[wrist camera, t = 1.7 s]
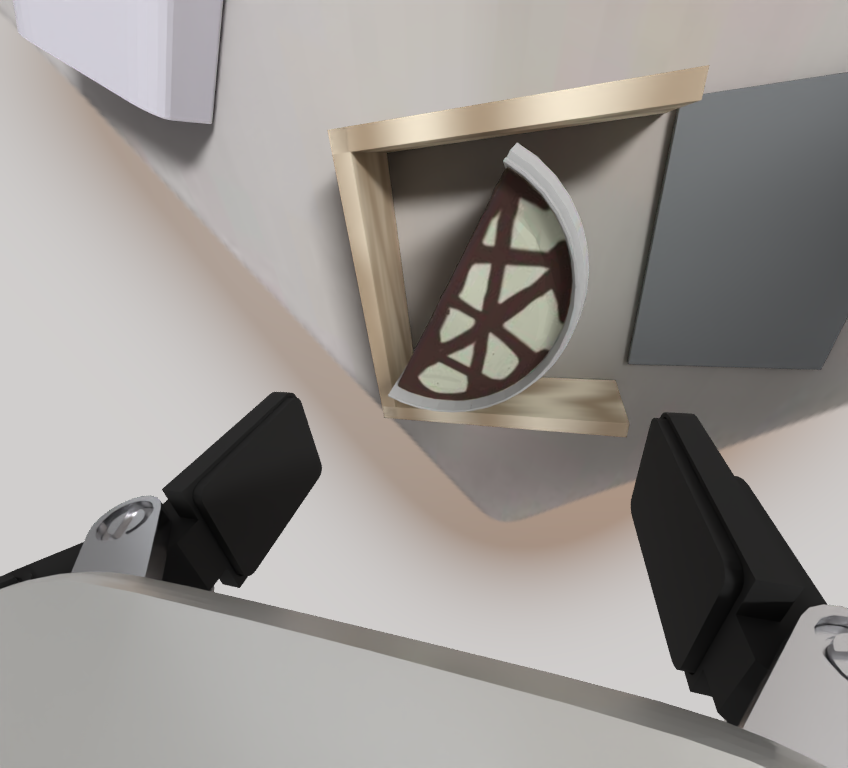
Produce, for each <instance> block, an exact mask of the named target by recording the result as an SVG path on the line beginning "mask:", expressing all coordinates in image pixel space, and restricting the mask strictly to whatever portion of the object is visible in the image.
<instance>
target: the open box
mask: <svg viewBox="0 0 848 768" xmlns="http://www.w3.org/2000/svg"><path fill="white" fill-rule="evenodd" d="M708 69H709V65H708V66H702V67H696V68H690V69H684V70H678V71H672V72H666V73H661V74H655V75H649V76H643V77H637V78H631V79H625V80H619V81H613V82H608V83H602V84H596V85H590V86H584V87H578V88H572V89H566V90H560V91H555V92H549V93H543V94H537V95H531V96H525V97H519V98H513V99H507V100H502V101H496V102H490V103H484V104H478V105H472V106H466V107H460V108H454V109H449V110H443V111H437V112H431V113H425V114H419V115H413V116H407V117H401V118H396V119H390V120H384V121H378V122H372V123H366V124H360V125H354V126H348V127H343V128H337V129H331V130H328V135H329V140H330V145H331V150H332V156H333V161H334V166H335V171H336V176H337V181H338V186H339V191H340V196H341V201H342V206H343V211H344V216H345V221H346V226H347V231H348V236H349V241H350V246H351V252H352V257H353V262H354V267H355V272H356V277H357V282H358V287H359V292H360V297H361V302H362V307H363V312H364V317H365V322H366V327H367V332H368V337H369V343H370V348H371V353H372V358H373V363H374V368H375V373H376V378H377V383H378V388H379V393H380V398H381V403H382V408H383V413H384V418H393V419H405V420H417V421H430V422H442V423H455V424H467V425H480V426H492V427H504V428H517V429H529V430H542V431H554V432H567V433H579V434H591V435H604V436H616V437H627V433H628V428H629V421H628V418H627V414H626V411H625V408H624V405H623V402H622V399H621V396H620V393H619V390H618V387H617V384H616V380H594V379H570V378H546V377H541V378H540V379H538V380H537V381H536V382H535V383H533V384H532V385H531V386H529V387H528V388H527V389H525V390H523V391H522V392H521V393H519V394H517V395H515V396H513V397H512V398H510V399H508V400H506V401H504V402H501V403H499V404H496V405H493V406H491V407H488V408H483V409H478V410H474V411H466V412H437V411H431V410H426V409H421V408H417V407H414V406H411V405H408V404H405V403H402V402H400V401H397V400H395V399H393V398H391V397H389V396H388V394H389V393H390V391H391V390H392V388H393V387H394V385H395V383H396V382H397V380H398V379H399V377H400V375H401V374H402V372H403V371H404V369H405V367H406V366H407V364H408V362H409V360H410V358H411V356H412V354H413V346H412V338H411V331H410V323H409V316H408V308H407V301H406V293H405V286H404V278H403V271H402V263H401V256H400V248H399V241H398V233H397V226H396V218H395V211H394V203H393V196H392V188H391V181H390V173H389V166H388V158H387V153H388V152H395V151H402V150H409V149H416V148H423V147H431V146H438V145H445V144H452V143H459V142H466V141H473V140H480V139H487V138H494V137H501V136H508V135H515V134H522V133H529V132H536V131H543V130H550V129H557V128H564V127H571V126H578V125H585V124H592V123H599V122H606V121H613V120H620V119H627V118H634V117H641V116H648V115H655V114H662V113H667V112H669V111H672V110H675V109H678V108H681V107H684V106H686V105H689V104H692V103H695V102H698V101H700V100H702V96H703V91H704V87H705V82H706V78H707V73H708Z"/></svg>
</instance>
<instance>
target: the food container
mask: <svg viewBox="0 0 848 768" xmlns="http://www.w3.org/2000/svg"><path fill="white" fill-rule="evenodd" d="M503 162H504V165H505V171H504V172H503V174H502V177H501V179H500V181H499V182H498V184H497V185H496V187H495V189H494V192H493V194H492V197H491V199H490V201H489V203H488V206H487V208H486V210H485V212H484V214H483V216H482V217H481V218H480V221H479V223H478V225H477V227H476V229H475V231H474V233H473V235H472V237H471V239H470V241H469V243H468V245H467V247H466V249H465V251H464V253H463V255H462V257H461V259H460V261H459V263H458V264H457V267H456V269H455V271H454V273H453V275H452V277H451V279H450V281H449V283H448V285H447V287H446V289H445V291H444V293H443V295H442V296H441V297H440V301H439V303H438V305H437V307H436V309H435V311H434V313H433V315H432V317H431V319H430V321H429V323H428V325H427V326H426V329H425V331H424V333H423V335H422V337H421V339H420V341H419V342H418V344H417V346H416V348H415V350H414V352H413V354H412V356H411V358H410V360H409V362H408V364H407V366H406V367H405V369H404V371H403V372H402V374H401V375H400V377H399V379H398V380H397V382H396V383H395V385H394V387H393V388H392V390H391V391H390V393H389V394H388V396H389V397H391V398H393V399H395V400H397V401H400V402H402V403H405V404H408V405H411V406H414V407H417V408H421V409H426V410H431V411H437V412H466V411H474V410H478V409H483V408H488V407H491V406H493V405H496V404H499V403H501V402H504V401H506V400H508V399H510V398H512V397H513V396H515V395H517V394H519V393H521V392H522V391H523V390H525V389H527V388H528V387H529V386H531V385H532V384H533V383H535V382H536V381H537V380H538V379H540V378H541V377H542V376H543V375H544V374H545V373H546V372H547V371H548V370H549V369H550V368H551V367H552V366H553V365H554V364H555V362H556V361H557V359H558V358H559V357H560V355H561V354H562V352H563V351H564V349H565V348H566V346H567V345H568V342H569V340H570V338H571V336H572V334H573V332H574V330H575V328H576V325H577V323H578V321H579V318H580V316H581V313H582V309H583V305H584V302H585V298H586V295H587V287H588V277H589V260H588V246H587V241H586V237H585V233H584V229H583V225H582V221H581V219H580V217H579V214H578V212H577V210H576V208H575V205H574V203H573V201H572V199H571V197H570V195H569V194H568V192H567V191H566V189H565V188H564V187H563V185H562V184H561V182H560V181H559V179H558V178H557V176H556V175H555V174H554V173H553V172H552V171H551V170H550V169H549V168H548V167H547V166H546V165H545V164H544V163H543V162H542V161H541V160H540V159H539V158H538V157H537V156H536V155H534V154H533V153H531V152H530V151H529V150H527V149H526V148H524V147H523V146H521V145H520V144H518V143H516V144H515V145H514V146H513V147H512V149H511V150H510V151H509V154H508V156H507V157H506V158H504V160H503Z"/></svg>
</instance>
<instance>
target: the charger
mask: <svg viewBox="0 0 848 768" xmlns="http://www.w3.org/2000/svg"><path fill="white" fill-rule="evenodd" d="M13 4H14V10H15V16H16V22H17V28H18V32H19V34H20V35H21V36H22V37H24V38H25V39H26V40H28V41H29V42H31V43H33V44H34V45H36V46H37V47H39V48H41V49H42V50H44V51H46V52H47V53H49V54H51V55H52V56H54V57H56V58H57V59H59V60H61V61H62V62H64V63H65V64H67V65H69V66H70V67H72V68H74V69H75V70H77V71H79V72H80V73H82V74H84V75H85V76H87V77H89V78H90V79H92V80H94V81H95V82H97V83H99V84H100V85H102V86H103V87H105V88H107V89H108V90H110V91H112V92H113V93H115V94H117V95H118V96H120V97H122V98H123V99H125V100H127V101H128V102H130V103H132V104H133V105H135V106H137V107H139V108H141V109H143V110H145V111H147V112H149V113H151V114H153V115H156V116H158V117H161V118H163V119H167V120H173V121H183V122H194V123H204V124H212V119H213V108H214V97H215V86H216V75H217V64H218V52H219V41H220V30H221V19H222V8H223V0H13Z"/></svg>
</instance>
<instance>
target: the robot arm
mask: <svg viewBox="0 0 848 768" xmlns="http://www.w3.org/2000/svg"><path fill="white" fill-rule="evenodd" d="M321 471H322V465H321V462H320V459H319V455H318V452H317V450H316V446H315V443H314V440H313V437H312V434H311V431H310V428H309V425H308V421H307V418H306V415H305V413H304V409H303V406H302V403H301V401H300V400H299V398H297V397H296V396H295V394H293V393H287V392H273V393H271V394H270V395H269V396H268V397H266V398H265V399H264V400H263V401H262V402H261V403H260V404H259V405H258V406H256V407H255V408H254V409H253V410H252V411H250V412H249V413H248V414H247V415H246V416H245V417H244V418H243V419H241V420H240V421H239V422H238V423H237V424H236V425H235V426H234V427H232V428H231V429H230V430H229V431H228V432H227V433H225V434H224V435H223V436H222V437H221V438H220V439H219V440H218V441H216V442H215V443H214V444H213V445H212V446H211V447H210V448H208V449H207V450H206V451H205V452H204V453H203V454H202V455H201V456H199V457H198V458H197V459H196V460H195V461H194V462H193V463H191V465H189V466H188V467H187V468H186V469H185V470H183V471H182V472H181V473H180V474H179V475H178V476H177V477H175V478H174V479H173V480H172V481H171V482H170V483H169V484H168V485H166V486H165V487H164V488H163V489H162V490H163V492H164V493H165V495H166V497H167V498H168V500H167V501H166V502H165V503H164V504H162V503H161V501H160V500H159V499H158V498H157V497H154V496H141V497H137V498H134V499H131V500H128V501H126V502H124V503H121V504H120V505H118V506H116V507H114V508H113V509H111V510H109V511H108V512H107V513H105V514H104V515H103V516H102V517H100V518H99V519H98V521H97V522H96V523H94V525H93V526H92V527H91V529H90V530H89V532H88V534H87V536H86V539H85V541H84V542H83V543H80V544H78V545H76V546H73V547H71V548H68V549H66V550H63V551H61V552H58V553H56V554H53V555H51V556H48V557H46V558H44V559H41V560H39V561H36V562H34V563H31V564H29V565H26V566H24V567H22V568H19V569H17V570H14V571H12V572H10V573H8V574H6V575H3V576H0V768H848V608H845V607H842V606H834V605H827V603H826V602H825V600H824V599H823V597H822V596H821V594H820V593H819V591H818V590H817V588H816V587H815V585H814V584H813V582H812V581H811V579H810V578H809V576H808V575H807V573H806V572H805V570H804V569H803V567H802V566H801V564H800V563H799V561H798V559H797V558H796V557H795V555H794V553H793V552H792V550H791V549H790V547H789V546H788V544H787V543H786V541H785V540H784V538H783V537H782V535H781V534H780V532H779V531H778V529H777V528H776V526H775V525H774V523H773V522H772V520H771V519H770V517H769V516H768V514H767V513H766V511H765V510H764V508H763V507H762V505H761V503H760V502H759V500H758V499H757V497H756V496H755V494H754V493H753V492H752V490H751V488H750V487H749V485H748V484H747V483H746V482H745V481H744V480H743V479H742V478H740V477H737V476H734V475H733V473H732V472H731V470H730V469H729V467H728V465H727V464H726V462H725V461H724V459H723V457H722V456H721V454H720V453H719V451H718V450H717V448H716V446H715V445H714V443H713V442H712V440H711V439H710V437H709V435H708V434H707V432H706V431H705V429H704V428H703V426H702V424H701V423H700V421H699V420H698V418H697V417H696V416H695V415H694V414H686V413H667V412H665V413H663V414H662V415H661V417H660V418H654V419H652V421H651V424H650V428H649V432H648V436H647V440H646V444H645V448H644V451H643V455H642V459H641V463H640V467H639V471H638V475H637V479H636V483H635V487H634V491H633V495H632V499H631V513H632V518H633V521H634V525H635V528H636V532H637V536H638V540H639V543H640V547H641V550H642V554H643V558H644V561H645V565H646V569H647V572H648V575H649V579H650V583H651V587H652V590H653V594H654V598H655V601H656V605H657V609H658V612H659V616H660V619H661V623H662V626H663V630H664V634H665V638H666V641H667V645H668V648H669V652H670V656H671V659H672V662H673V664H674V666H675V668H676V669H677V670H682V671H684V672H685V675H686V679H687V682H688V686H689V689H690V691H691V692H694V693H699V694H703V695H708V696H712V697H713V700H714V703H715V706H716V709H717V712H718V713H719V714H720V715H721V716H722V717H723V718H724V719H725V721H721V720H718V719H714V718H711V717H708V716H705V715H701V714H698V713H695V712H692V711H689V710H685V709H682V708H679V707H676V706H672V705H669V704H666V703H663V702H659V701H656V700H651V699H648V698H644V697H640V696H636V695H633V694H629V693H625V692H621V691H617V690H614V689H610V688H606V687H602V686H598V685H595V684H591V683H587V682H583V681H579V680H576V679H572V678H568V677H564V676H560V675H556V674H552V673H549V672H544V671H540V670H536V669H532V668H528V667H524V666H519V665H516V664H511V663H507V662H503V661H499V660H495V659H491V658H487V657H483V656H479V655H475V654H470V653H467V652H463V651H458V650H454V649H450V648H446V647H442V646H438V645H434V644H430V643H426V642H422V641H418V640H413V639H409V638H405V637H401V636H397V635H393V634H388V633H384V632H380V631H376V630H372V629H367V628H363V627H359V626H355V625H351V624H347V623H343V622H338V621H334V620H329V619H326V618H322V617H317V616H313V615H309V614H305V613H300V612H296V611H292V610H288V609H284V608H279V607H275V606H271V605H266V604H262V603H258V602H254V601H249V600H245V599H241V598H236V597H232V596H228V595H223V594H219V593H215V592H214V584H215V583H216V582H217V580H218V579H220V581H221V582H222V584H225V585H229V586H234V587H238V588H240V587H241V585H242V584H243V583H244V581H245V580H246V578H247V577H248V576H250V575H252V574H253V573H254V572H255V571H256V569H257V568H258V566H259V565H260V564H261V562H262V560H263V559H264V558H265V556H266V555H267V553H268V552H269V550H270V549H271V547H272V546H273V544H274V543H275V541H276V540H277V538H278V537H279V536H280V534H281V533H282V531H283V530H284V528H285V527H286V525H287V524H288V522H289V521H290V520H291V518H292V517H293V515H294V514H295V512H296V511H297V509H298V508H299V506H300V505H301V503H302V502H303V500H304V499H305V497H306V496H307V495H308V493H309V492H310V490H311V489H312V487H313V486H314V484H315V483H316V481H317V480H318V478H319V476H320V475H321Z"/></svg>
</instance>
